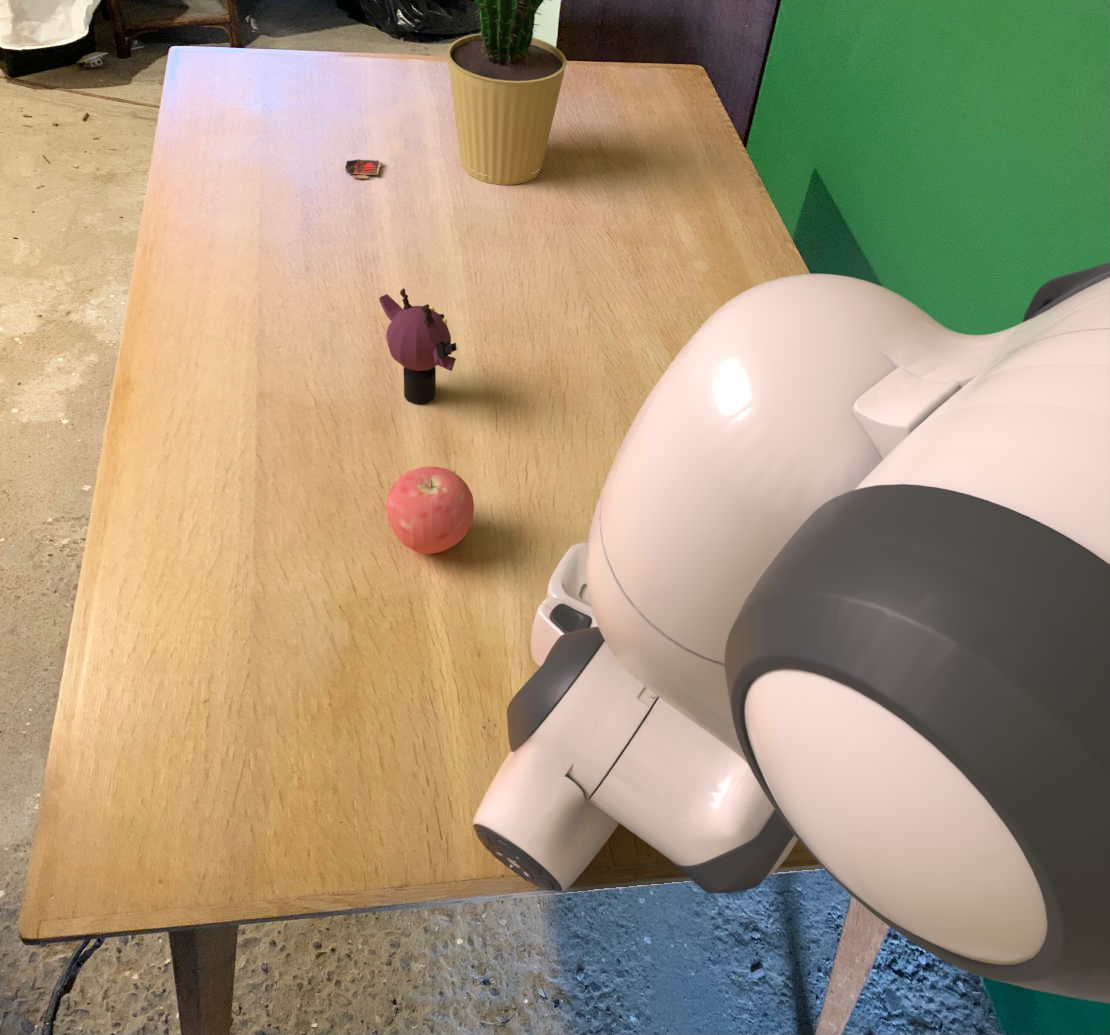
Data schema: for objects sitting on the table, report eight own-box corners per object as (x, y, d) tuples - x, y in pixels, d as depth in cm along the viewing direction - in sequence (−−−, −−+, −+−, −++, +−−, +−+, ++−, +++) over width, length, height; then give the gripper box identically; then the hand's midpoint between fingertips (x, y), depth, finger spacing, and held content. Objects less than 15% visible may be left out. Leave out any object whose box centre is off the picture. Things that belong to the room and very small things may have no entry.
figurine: (455, 422, 96) (457, 325, 87) (375, 418, 95) (369, 319, 86) (459, 372, 101) (461, 275, 92) (383, 367, 100) (378, 270, 92)
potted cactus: (467, 199, 125) (473, -54, 103) (431, 144, 134) (429, -99, 112) (573, 185, 130) (601, -59, 108) (531, 134, 139) (549, -101, 117)
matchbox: (343, 162, 129) (343, 159, 128) (381, 160, 130) (381, 157, 130) (348, 179, 126) (348, 176, 125) (387, 177, 127) (386, 174, 127)
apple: (486, 555, 84) (489, 493, 78) (408, 582, 82) (406, 519, 76) (452, 499, 88) (453, 437, 83) (377, 523, 86) (372, 459, 80)
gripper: (770, 737, 65) (838, 604, 73) (519, 598, 71) (609, 489, 79) (747, 780, 69) (814, 650, 78) (514, 646, 75) (599, 538, 84)
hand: (709, 568), depth 78 cm, fingers closed, pressing on medicine box
